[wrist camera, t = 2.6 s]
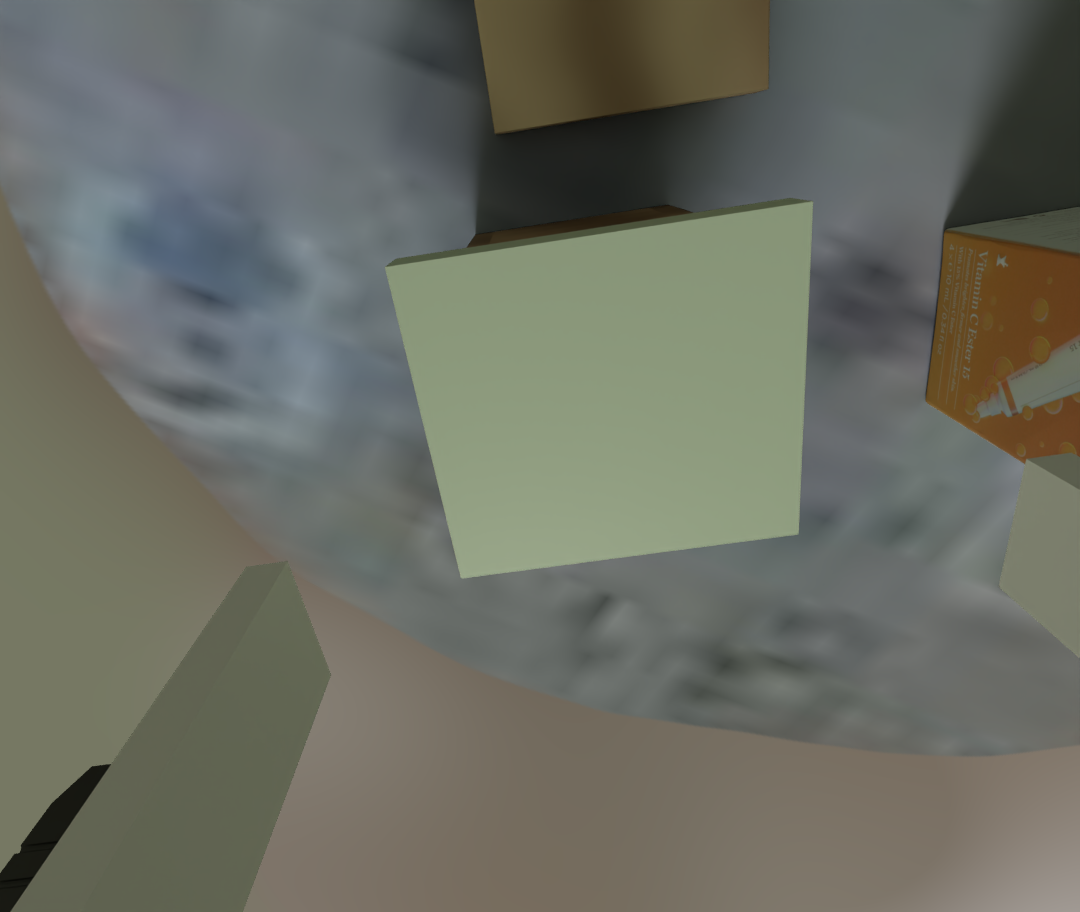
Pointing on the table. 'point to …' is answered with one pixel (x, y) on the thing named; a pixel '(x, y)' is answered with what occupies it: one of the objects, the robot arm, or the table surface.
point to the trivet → (617, 56)
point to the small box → (1011, 333)
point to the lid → (614, 385)
